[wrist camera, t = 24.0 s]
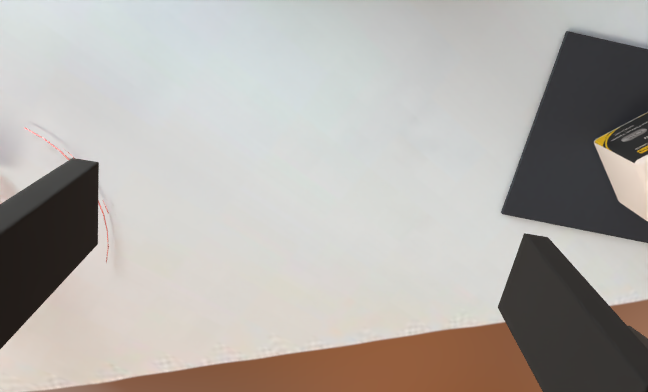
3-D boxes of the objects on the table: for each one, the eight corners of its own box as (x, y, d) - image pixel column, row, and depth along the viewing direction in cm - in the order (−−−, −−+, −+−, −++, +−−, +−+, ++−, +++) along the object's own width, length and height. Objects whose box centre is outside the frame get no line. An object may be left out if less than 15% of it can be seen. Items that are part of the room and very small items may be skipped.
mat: (566, 31, 43) (568, 31, 43) (793, 82, 44) (797, 83, 44) (500, 212, 49) (502, 214, 49) (703, 252, 50) (705, 254, 50)
